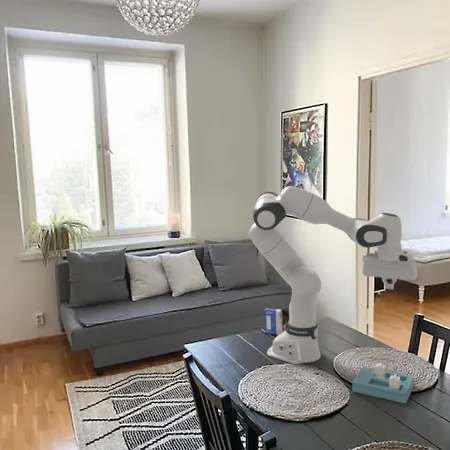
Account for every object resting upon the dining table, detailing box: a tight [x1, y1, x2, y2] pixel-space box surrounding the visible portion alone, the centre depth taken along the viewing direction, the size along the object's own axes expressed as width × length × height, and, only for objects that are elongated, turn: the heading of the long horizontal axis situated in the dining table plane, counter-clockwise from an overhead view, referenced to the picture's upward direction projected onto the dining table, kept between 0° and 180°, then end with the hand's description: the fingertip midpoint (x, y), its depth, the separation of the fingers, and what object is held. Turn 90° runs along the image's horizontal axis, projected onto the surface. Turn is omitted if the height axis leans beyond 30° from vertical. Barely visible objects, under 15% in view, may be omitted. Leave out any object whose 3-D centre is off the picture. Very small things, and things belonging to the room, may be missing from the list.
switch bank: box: [351, 366, 415, 404], centre depth 164 cm, size 18×14×4 cm
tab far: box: [374, 362, 386, 377], centre depth 168 cm, size 3×3×5 cm
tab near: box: [389, 374, 400, 390], centre depth 158 cm, size 3×3×5 cm
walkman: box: [263, 307, 283, 336], centre depth 220 cm, size 8×3×12 cm, turn 64°
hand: (389, 288), depth 181 cm, fingers closed
